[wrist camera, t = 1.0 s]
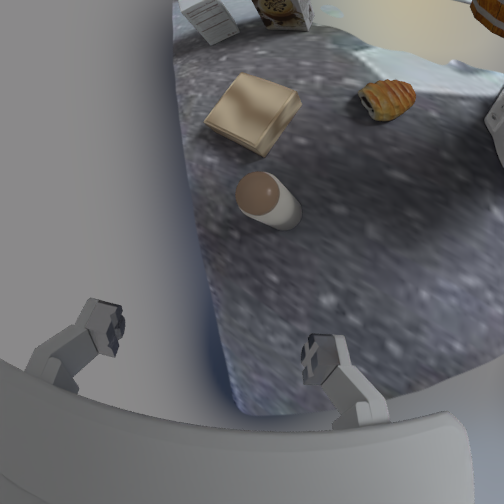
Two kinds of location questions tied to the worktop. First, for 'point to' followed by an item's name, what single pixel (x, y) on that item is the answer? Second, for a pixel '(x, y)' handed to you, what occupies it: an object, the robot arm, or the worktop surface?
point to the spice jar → (268, 201)
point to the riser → (254, 112)
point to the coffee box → (285, 14)
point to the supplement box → (209, 19)
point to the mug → (490, 14)
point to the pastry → (387, 99)
